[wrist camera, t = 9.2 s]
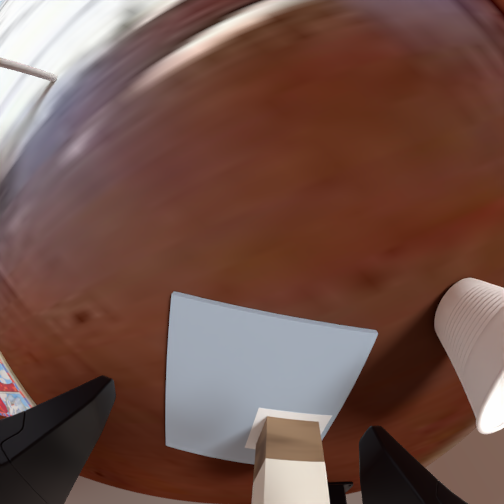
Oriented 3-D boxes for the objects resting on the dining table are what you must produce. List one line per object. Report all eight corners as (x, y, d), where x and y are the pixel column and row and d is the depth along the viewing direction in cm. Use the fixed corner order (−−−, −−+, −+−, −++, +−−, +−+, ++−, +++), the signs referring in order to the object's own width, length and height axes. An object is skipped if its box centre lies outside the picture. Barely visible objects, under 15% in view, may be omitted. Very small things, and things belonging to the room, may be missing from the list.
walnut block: (302, 449, 24) (305, 486, 19) (255, 444, 24) (252, 482, 19) (318, 421, 23) (324, 462, 18) (267, 416, 23) (265, 458, 18)
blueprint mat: (302, 464, 26) (302, 468, 25) (167, 441, 26) (165, 445, 25) (375, 330, 20) (378, 334, 20) (174, 291, 21) (171, 294, 20)
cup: (436, 372, 21) (485, 448, 11) (395, 312, 20) (464, 404, 9) (503, 304, 19) (569, 357, 9) (475, 230, 18) (571, 271, 7)
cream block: (305, 486, 19) (307, 527, 14) (253, 482, 19) (249, 525, 14) (324, 462, 18) (330, 509, 13) (265, 458, 18) (263, 508, 13)
